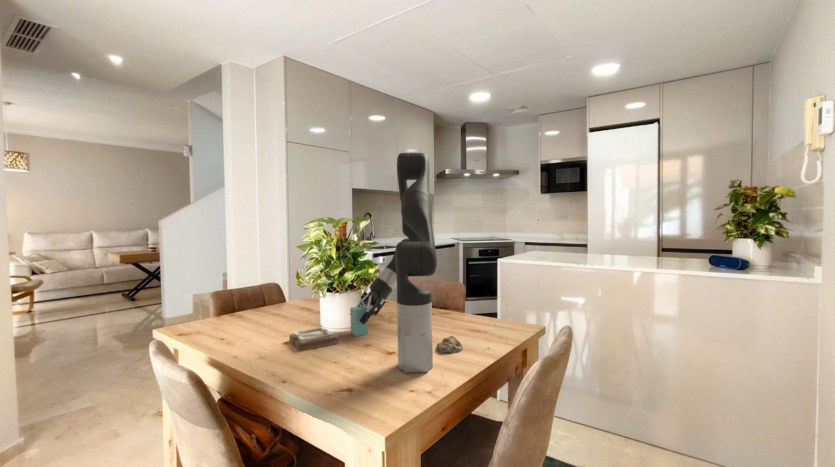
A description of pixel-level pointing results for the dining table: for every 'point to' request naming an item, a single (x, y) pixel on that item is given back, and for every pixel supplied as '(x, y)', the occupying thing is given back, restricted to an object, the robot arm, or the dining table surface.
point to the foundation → (313, 338)
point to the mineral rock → (449, 345)
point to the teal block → (356, 325)
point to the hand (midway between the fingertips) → (356, 320)
